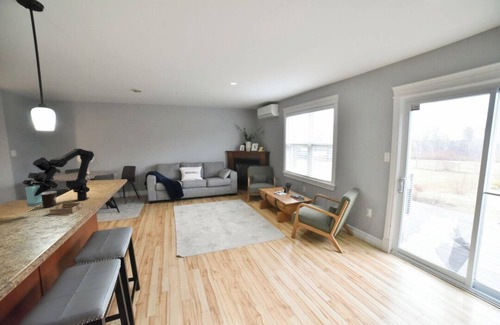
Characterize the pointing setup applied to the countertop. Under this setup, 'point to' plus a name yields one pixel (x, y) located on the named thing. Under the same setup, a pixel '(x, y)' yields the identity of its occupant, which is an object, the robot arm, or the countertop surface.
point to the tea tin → (32, 199)
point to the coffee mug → (49, 199)
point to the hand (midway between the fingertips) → (31, 195)
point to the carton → (65, 209)
